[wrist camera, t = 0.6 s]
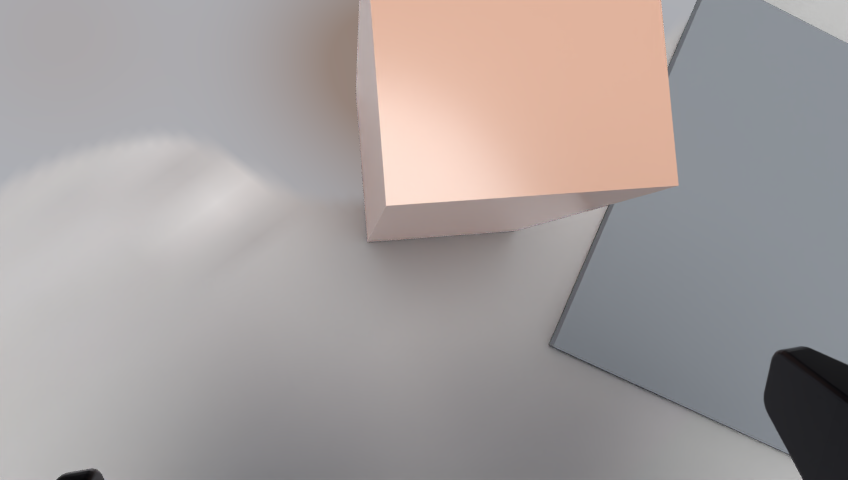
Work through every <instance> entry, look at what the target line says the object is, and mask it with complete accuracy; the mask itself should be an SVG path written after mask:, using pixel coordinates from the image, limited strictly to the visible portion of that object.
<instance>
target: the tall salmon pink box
mask: <svg viewBox="0 0 848 480" xmlns="http://www.w3.org/2000/svg"><path fill="white" fill-rule="evenodd" d="M356 100H357V114H358V127H359V140H360V153H361V167H362V180H363V193H364V206H365V219H366V233H367V242H375V241H389V240H402V239H415V238H429V237H442V236H456V235H469V234H483V233H496V232H510V231H518V230H521V229H525V228H528V227H532V226H535V225H539V224H543V223H546V222H550V221H553V220H557V219H561V218H564V217H568V216H571V215H575V214H579V213H582V212H586V211H589V210H593V209H597V208H600V207H604V206H607V205H611V204H615V203H618V202H622V201H625V200H629V199H633V198H636V197H640V196H643V195H647V194H651V193H654V192H658V191H661V190H665V189H668V188H672V187H676V186H679V184H678V174H677V163H676V153H675V142H674V132H673V121H672V111H671V100H670V90H669V79H668V69H667V58H666V48H665V37H664V27H663V17H662V6H661V0H359V23H358V49H357V77H356Z"/></svg>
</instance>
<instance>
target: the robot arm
mask: <svg viewBox="0 0 848 480" xmlns="http://www.w3.org/2000/svg"><path fill="white" fill-rule="evenodd" d="M764 405H765V409H766V411H767V414H768V416H769V417H770V419H771V421H772V423H773V425H774V427H775V429H776V430H777V432H778V434H779V436H780V438H781V440H782V442H783V443H784V445H785V447H786V449H787V451H788V453H789V455H790V456H791V458H792V460H793V462H794V464H795V466H796V468H797V469H798V471H799V473H800V475H801V477H802V479H803V480H848V364H846V363H843V362H841V361H839V360H837V359H834V358H832V357H830V356H828V355H825V354H823V353H821V352H819V351H816V350H814V349H812V348H809V347H806V346H799V347H793V348H787V349H781V350H778V351H776V352H775V353H774V355H773V356H772V359H771V363H770V367H769V372H768V376H767V381H766V385H765V390H764ZM57 480H104V478H103V476H102V474H101V473H100V472H99V471H98V470H97V469H86V470H80V471H74V472H69V473H65V474H63V475H61V476H60V477H59V478H58V479H57Z"/></svg>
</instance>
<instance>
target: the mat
mask: <svg viewBox="0 0 848 480" xmlns="http://www.w3.org/2000/svg"><path fill="white" fill-rule="evenodd" d="M668 79H669V90H670V100H671V111H672V121H673V132H674V142H675V153H676V163H677V174H678V184H679V186H676V187H672V188H668V189H665V190H661V191H658V192H654V193H651V194H647V195H643V196H640V197H636V198H633V199H629V200H625V201H622V202H618V203H615V204H611V205H609V207H608V209H607V211H606V214H605V216H604V218H603V221H602V223H601V225H600V227H599V230H598V232H597V234H596V237H595V239H594V241H593V244H592V246H591V248H590V251H589V253H588V255H587V258H586V260H585V262H584V265H583V267H582V269H581V272H580V274H579V276H578V279H577V281H576V283H575V286H574V288H573V290H572V293H571V295H570V297H569V300H568V302H567V304H566V307H565V309H564V311H563V314H562V316H561V318H560V321H559V323H558V325H557V328H556V330H555V332H554V335H553V337H552V339H551V342H550V344H549V345H550V346H552V347H554V348H556V349H559V350H561V351H563V352H565V353H567V354H570V355H572V356H574V357H576V358H578V359H581V360H583V361H585V362H587V363H589V364H592V365H594V366H596V367H598V368H600V369H602V370H605V371H607V372H609V373H611V374H613V375H616V376H618V377H620V378H622V379H624V380H627V381H629V382H631V383H633V384H635V385H638V386H640V387H642V388H644V389H646V390H649V391H651V392H653V393H655V394H657V395H659V396H662V397H664V398H666V399H668V400H670V401H673V402H675V403H677V404H679V405H681V406H684V407H686V408H688V409H690V410H692V411H695V412H697V413H699V414H701V415H703V416H706V417H708V418H710V419H712V420H714V421H716V422H719V423H721V424H723V425H725V426H727V427H730V428H732V429H734V430H736V431H738V432H741V433H743V434H745V435H747V436H749V437H752V438H754V439H756V440H758V441H760V442H763V443H765V444H767V445H769V446H771V447H773V448H776V449H778V450H780V451H782V452H784V453H787V454H789V453H788V451H787V449H786V447H785V445H784V443H783V442H782V440H781V438H780V436H779V434H778V432H777V430H776V429H775V427H774V425H773V423H772V421H771V419H770V417H769V416H768V414H767V411H766V409H765V405H764V390H765V385H766V381H767V376H768V372H769V367H770V363H771V359H772V356H773V355H774V353H775V352H776V351H778V350H781V349H787V348H793V347H799V346H806V347H809V348H812V349H814V350H816V351H819V352H821V353H823V354H825V355H828V356H830V357H832V358H834V359H837V360H839V361H841V362H843V363H846V364H848V43H846V42H844V41H842V40H840V39H838V38H836V37H834V36H832V35H830V34H828V33H826V32H824V31H822V30H820V29H818V28H816V27H814V26H812V25H810V24H808V23H806V22H805V21H803V20H801V19H799V18H797V17H795V16H793V15H791V14H789V13H787V12H785V11H783V10H781V9H779V8H777V7H775V6H773V5H771V4H769V3H767V2H765V1H763V0H697V2H696V4H695V6H694V9H693V11H692V13H691V16H690V18H689V20H688V23H687V25H686V27H685V30H684V32H683V34H682V37H681V39H680V41H679V44H678V46H677V48H676V51H675V53H674V55H673V58H672V60H671V62H670V65H669V67H668Z"/></svg>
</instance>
